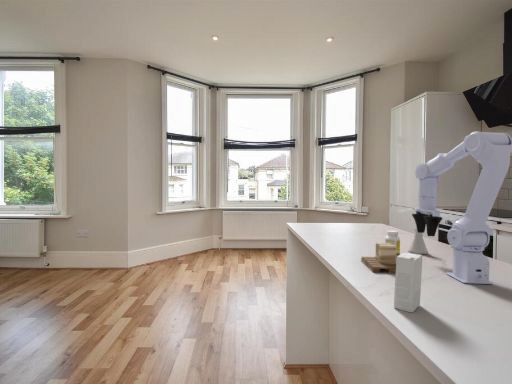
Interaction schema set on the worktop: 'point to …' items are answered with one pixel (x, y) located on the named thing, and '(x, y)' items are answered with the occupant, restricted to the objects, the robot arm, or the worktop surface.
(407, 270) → the skincare box
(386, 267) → the pallet
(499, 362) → the worktop surface
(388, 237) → the supplement bottle
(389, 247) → the cardboard box
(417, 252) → the flask
